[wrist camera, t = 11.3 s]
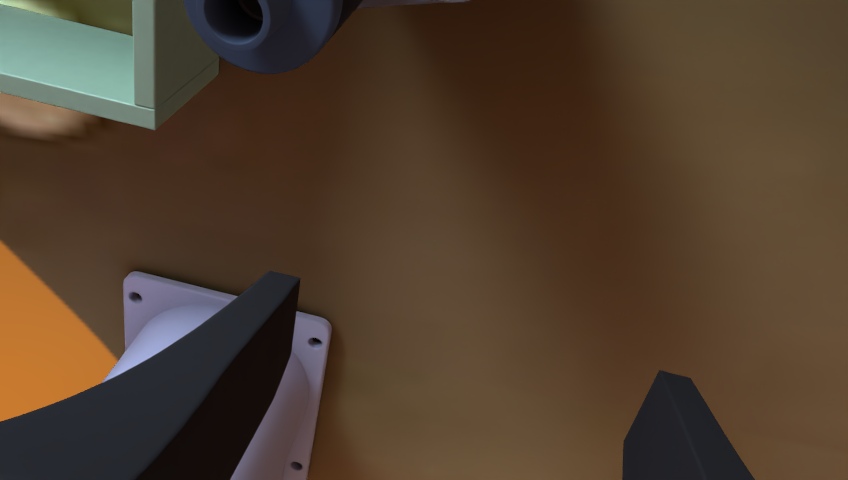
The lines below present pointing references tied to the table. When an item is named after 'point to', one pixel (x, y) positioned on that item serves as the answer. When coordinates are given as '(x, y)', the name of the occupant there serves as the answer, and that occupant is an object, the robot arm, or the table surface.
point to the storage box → (107, 63)
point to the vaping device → (275, 28)
